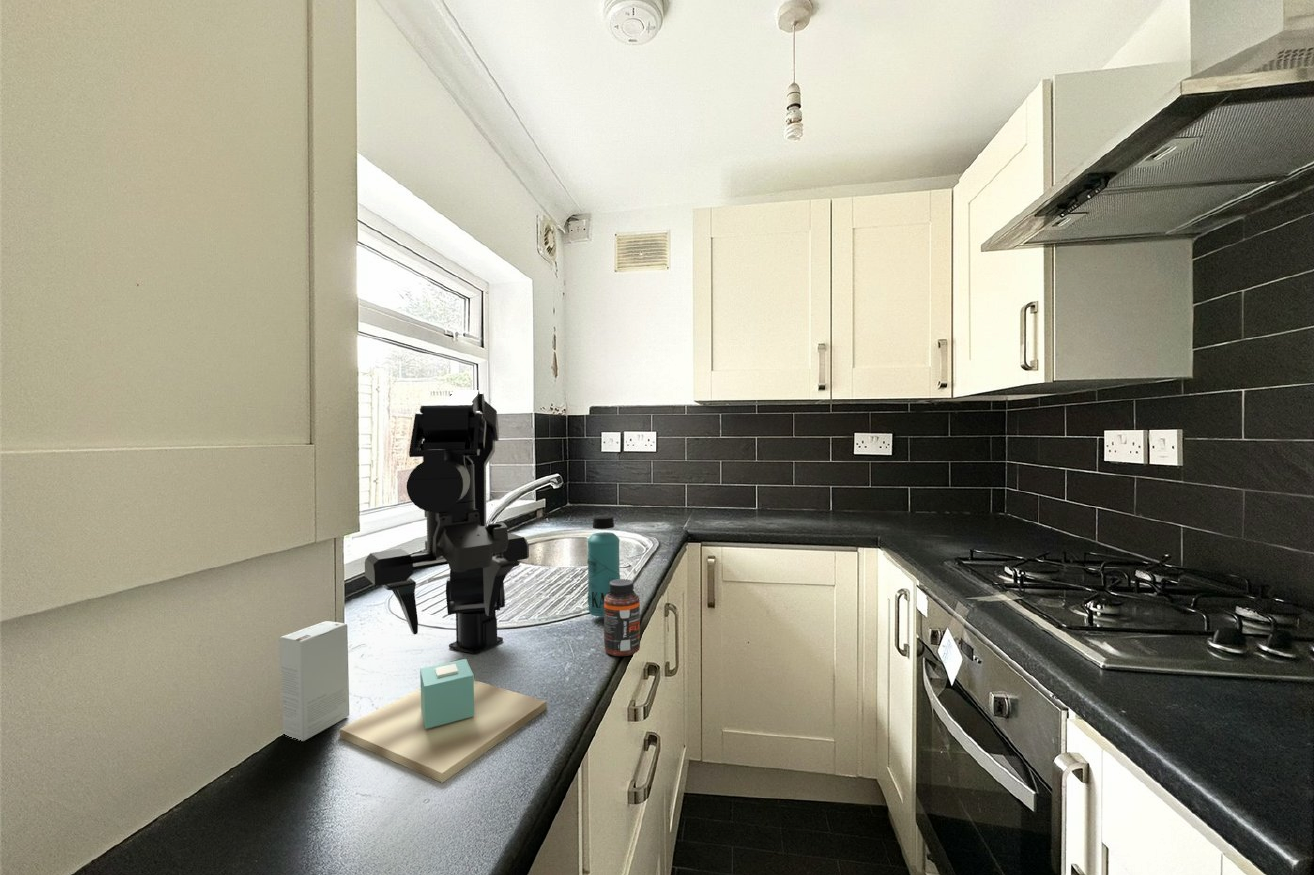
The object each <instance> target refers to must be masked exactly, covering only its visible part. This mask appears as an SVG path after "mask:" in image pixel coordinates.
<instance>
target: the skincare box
mask: <svg viewBox="0 0 1314 875" xmlns="http://www.w3.org/2000/svg"><path fill="white" fill-rule="evenodd" d="M348 631H349V630H348V624H347V623H343V622H336V621H330V620H329V621H328V620H324V621H322V622H320V623H316V624H314V625H311V626H308V627H305V628H302V629H299V630H297V631H294V632H291V633H288V634H285V635H282V636H280V637H279V638H278V641H279V643H278V647H279V648H278V649H279V651H278V652H279V653H278V654H279V655H278V656H279V669H280V668H281V682H282V683H281V684H282V699H283V707H282V708H283V734H285V735H287V736H289V737H292V738H291V739H293V738H296V739H298V740H297V741H300V740H301V741H300V742H305V741H306V740H308V739H310V738H312V737H313V736H315V735H317V734H319V733H321V732H324V731H325V730H327V729H328V728H331V727H332V726H333V725H335V724H337V723H340V722H341V721H343V720H345V719H346V718H348V717H350V684H349V683H350V682H349V676H350V675H349V645H348V644H349V641H348V637H349V636H348ZM280 666H281V667H280ZM283 734H282V735H283ZM287 736H286V737H287ZM289 737H288V738H289ZM296 739H295V740H296Z"/></svg>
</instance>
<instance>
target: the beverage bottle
mask: <svg viewBox="0 0 1314 875" xmlns="http://www.w3.org/2000/svg"><path fill="white" fill-rule="evenodd" d="M592 528H593V529H594V530H596V529H597V530H606V529H607V530H608V529H612V528H615V522H614V517H613V516H610V515H600V516H594V517H593V518H592ZM620 540H621V539H620V538H619V537H618V535H616V533H614V532H607V531H603V532H602V531H601V532H594V533H592V534H591V535H590V536H589V537H588V538H587V541H586V542H587V556H586V557H587V586H588V588H587V609H588V612H589V614H590V615H591V616H594V617H603V618H604V598H605V596H606V595H607V594H609V593H610V590H609V583H610V582H611V581H613V580H618V579H621V574H620V568H621V567H620V566H621V565H620V564H621V563H620Z"/></svg>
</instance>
